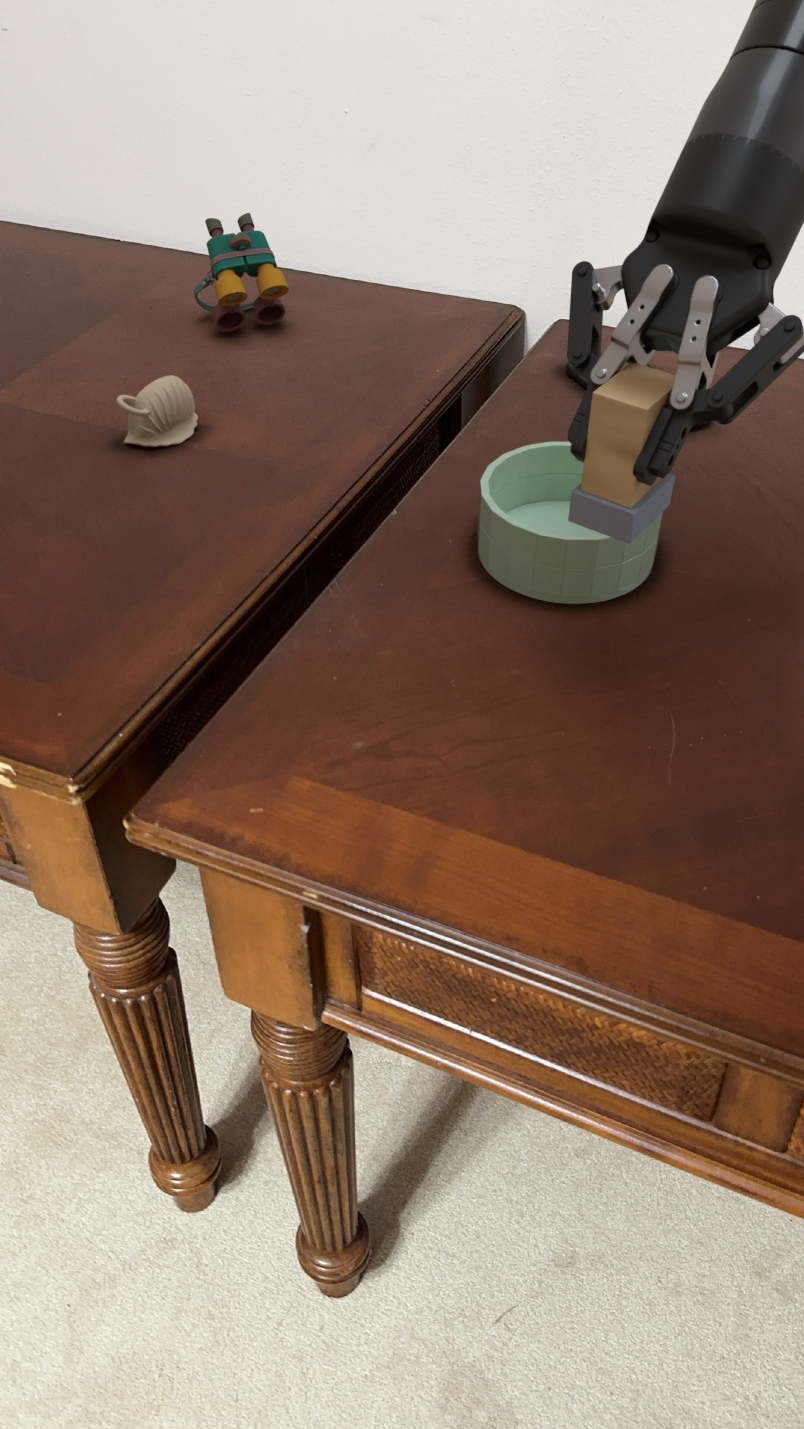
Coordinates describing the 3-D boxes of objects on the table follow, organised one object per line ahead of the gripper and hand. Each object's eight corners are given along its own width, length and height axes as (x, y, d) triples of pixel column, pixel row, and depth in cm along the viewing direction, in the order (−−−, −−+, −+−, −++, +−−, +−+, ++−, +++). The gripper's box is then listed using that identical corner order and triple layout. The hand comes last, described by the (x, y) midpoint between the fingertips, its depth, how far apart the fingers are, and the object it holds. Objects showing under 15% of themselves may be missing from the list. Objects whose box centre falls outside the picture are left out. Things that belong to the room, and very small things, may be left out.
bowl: (666, 519, 86) (678, 457, 82) (638, 619, 77) (649, 554, 73) (502, 491, 89) (506, 429, 85) (456, 584, 80) (458, 519, 76)
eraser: (609, 483, 66) (627, 357, 61) (670, 505, 65) (694, 377, 59) (567, 521, 63) (582, 392, 58) (629, 544, 62) (651, 413, 56)
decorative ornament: (212, 426, 97) (205, 369, 93) (139, 464, 92) (128, 406, 89) (181, 412, 99) (173, 355, 95) (108, 449, 94) (96, 390, 90)
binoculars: (205, 351, 113) (208, 289, 103) (180, 275, 114) (181, 207, 105) (292, 336, 115) (303, 274, 106) (266, 262, 117) (275, 194, 107)
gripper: (614, 106, 58) (477, 406, 60) (878, 154, 52) (719, 488, 54) (646, 184, 65) (522, 453, 66) (882, 235, 59) (741, 530, 60)
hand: (611, 467), depth 60 cm, fingers closed on eraser, 3 cm apart
